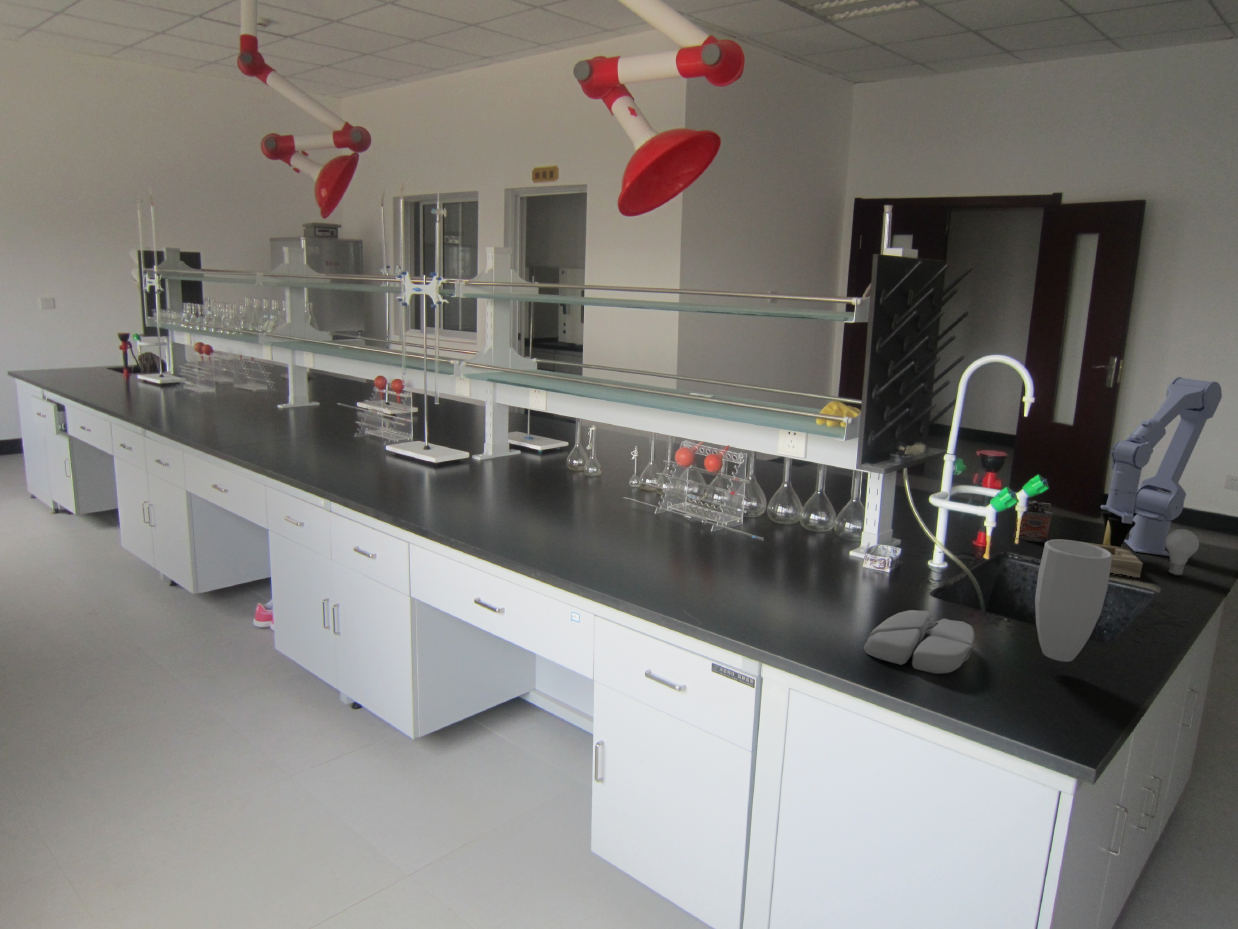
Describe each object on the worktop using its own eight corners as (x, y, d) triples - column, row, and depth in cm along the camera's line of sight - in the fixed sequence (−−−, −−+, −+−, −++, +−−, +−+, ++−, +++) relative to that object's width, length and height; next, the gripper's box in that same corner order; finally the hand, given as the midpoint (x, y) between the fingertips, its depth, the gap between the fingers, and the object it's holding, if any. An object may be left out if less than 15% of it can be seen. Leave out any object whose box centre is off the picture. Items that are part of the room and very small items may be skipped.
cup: (1030, 652, 144) (1051, 534, 139) (1096, 672, 137) (1121, 550, 133) (1012, 670, 136) (1034, 546, 132) (1081, 693, 130) (1107, 564, 125)
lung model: (853, 654, 139) (895, 622, 160) (959, 689, 130) (989, 650, 150) (859, 617, 138) (901, 590, 159) (967, 649, 129) (996, 615, 149)
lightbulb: (1185, 572, 193) (1195, 528, 190) (1195, 581, 187) (1206, 535, 184) (1154, 568, 195) (1164, 524, 192) (1164, 577, 189) (1174, 531, 186)
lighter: (1015, 538, 212) (1021, 501, 210) (1012, 535, 215) (1018, 498, 213) (1049, 542, 210) (1055, 505, 208) (1045, 539, 214) (1052, 502, 211)
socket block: (1069, 554, 202) (1071, 540, 201) (1124, 561, 199) (1126, 547, 198) (1081, 569, 190) (1084, 555, 190) (1139, 577, 187) (1142, 563, 186)
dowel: (1099, 549, 205) (1105, 519, 203) (1117, 552, 204) (1123, 521, 202) (1104, 554, 201) (1110, 523, 200) (1122, 557, 200) (1128, 525, 199)
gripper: (1097, 481, 207) (1087, 533, 210) (1113, 495, 193) (1102, 550, 196) (1128, 485, 205) (1118, 537, 208) (1147, 499, 192) (1135, 554, 195)
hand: (1112, 543), depth 202 cm, fingers closed on dowel, 4 cm apart
